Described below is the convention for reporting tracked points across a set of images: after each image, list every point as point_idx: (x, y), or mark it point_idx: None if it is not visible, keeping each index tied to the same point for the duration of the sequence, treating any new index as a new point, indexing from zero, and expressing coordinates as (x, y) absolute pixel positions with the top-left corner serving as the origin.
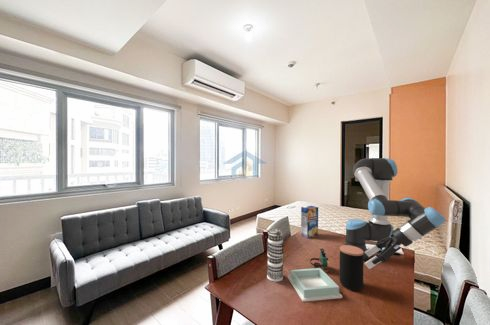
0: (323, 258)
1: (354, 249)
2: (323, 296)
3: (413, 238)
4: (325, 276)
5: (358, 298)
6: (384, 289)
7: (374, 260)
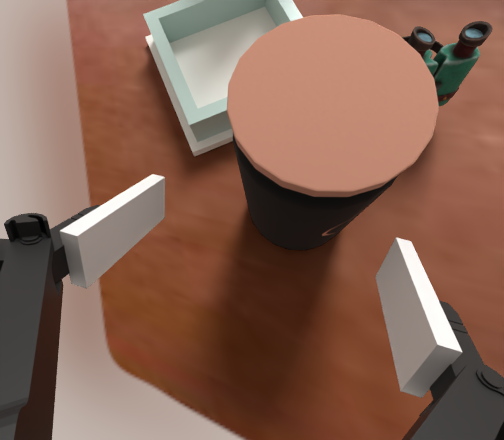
0: None
1: (336, 118)
2: (174, 92)
3: None
4: None
5: (204, 212)
6: (306, 349)
7: (72, 216)
